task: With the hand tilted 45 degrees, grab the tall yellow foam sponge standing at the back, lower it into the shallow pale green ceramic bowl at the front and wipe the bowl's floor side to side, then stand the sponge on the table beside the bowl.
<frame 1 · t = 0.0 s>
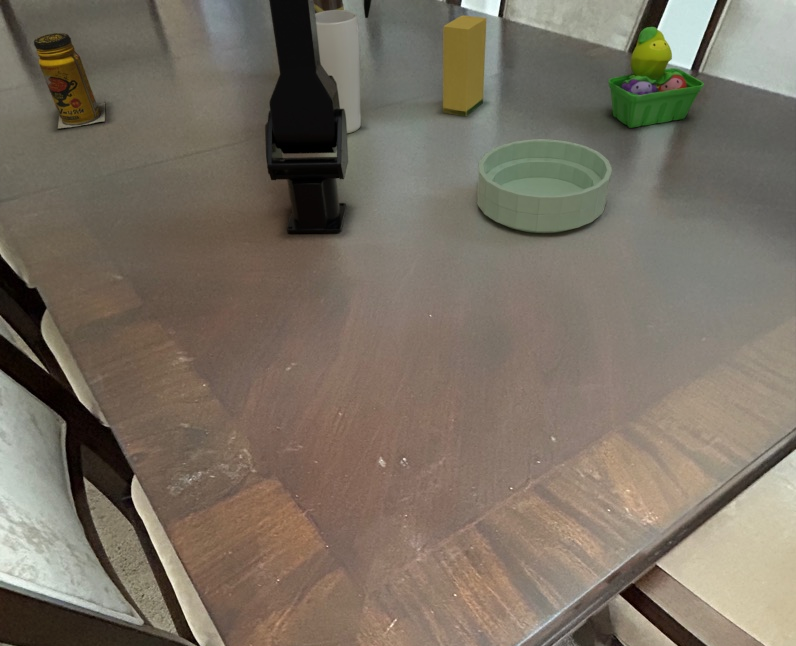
hand: (333, 18, 91), 15 cm above the table, tool pointing down, fingers open, 9 cm apart
condiment: (83, 118, 110), on the table
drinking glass: (344, 129, 101), on the table
sauce bottle: (332, 75, 119), on the table
bowl: (539, 205, 82), on the table
fruit basket: (645, 117, 99), on the table
sponge: (463, 107, 105), on the table
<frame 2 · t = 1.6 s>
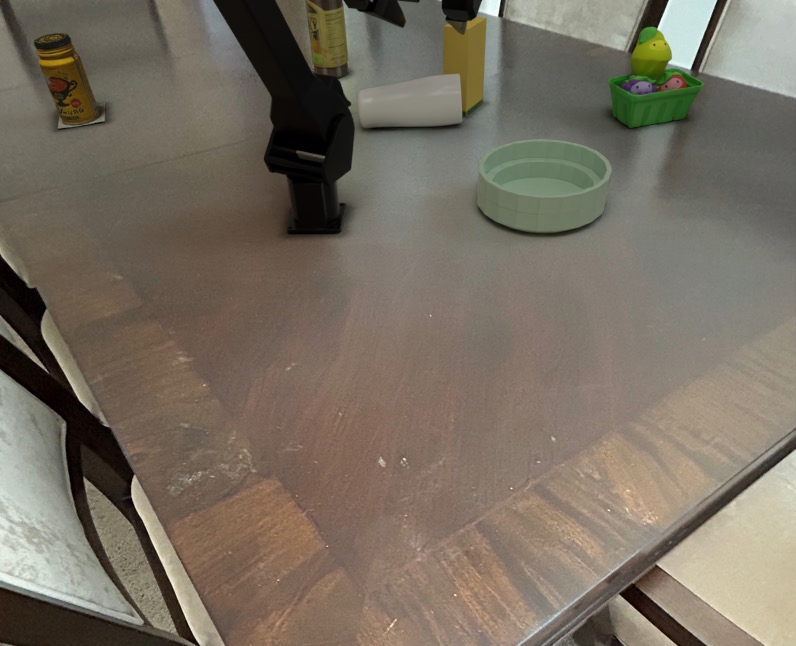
hand: (433, 27, 91), 13 cm above the table, tool tilted 45°, fingers open, 9 cm apart
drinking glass: (358, 109, 99), point 3 cm above the table, touching sponge
sponge: (463, 107, 105), on the table, touching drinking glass
everything else where it was.
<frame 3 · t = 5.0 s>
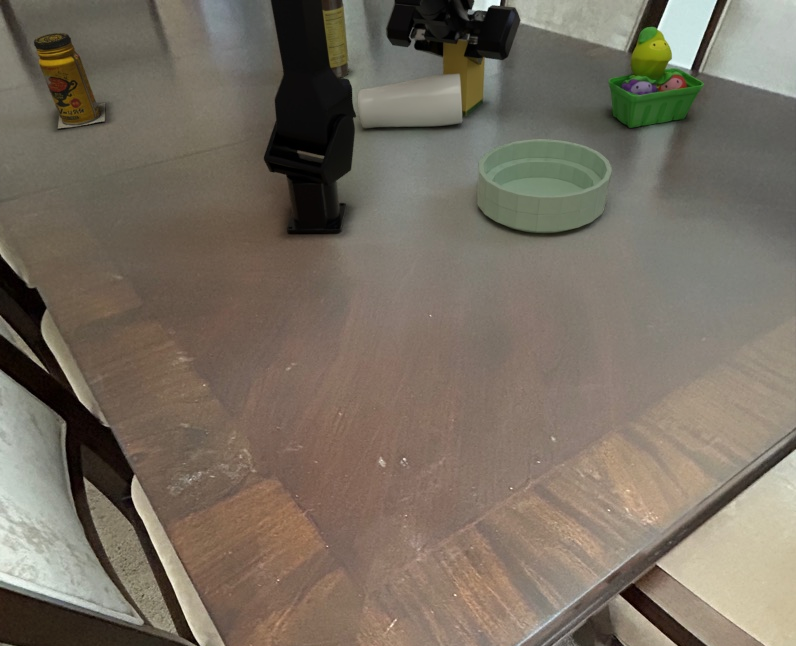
hand: (468, 59, 101), 7 cm above the table, tool tilted 45°, fingers closed on sponge, 4 cm apart
sponge: (463, 107, 105), on the table, touching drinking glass, gripper
everything else where it was.
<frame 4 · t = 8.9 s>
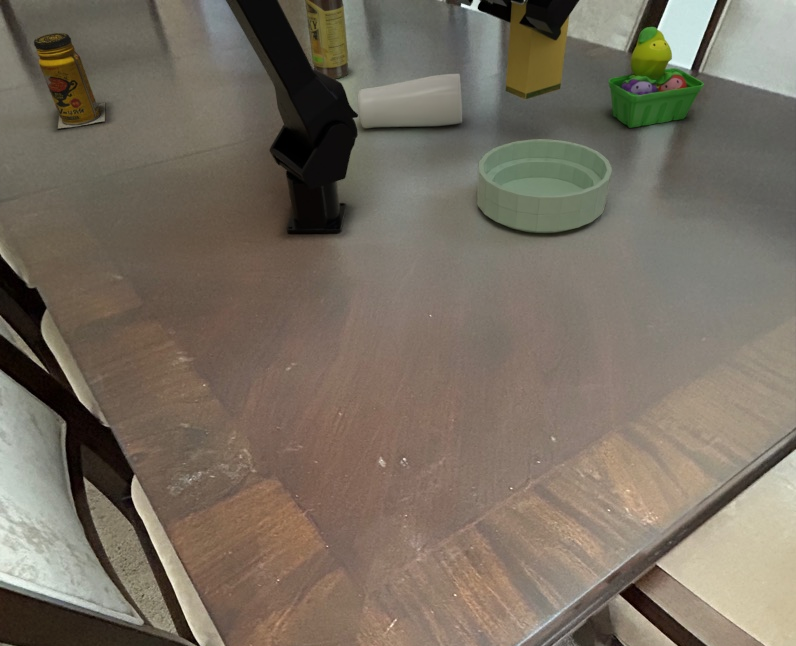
hand: (546, 32, 84), 14 cm above the table, tool tilted 45°, fingers closed on sponge, 4 cm apart
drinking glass: (358, 109, 99), point 3 cm above the table
sponge: (532, 90, 88), point 8 cm above the table, touching gripper
everything else where it was.
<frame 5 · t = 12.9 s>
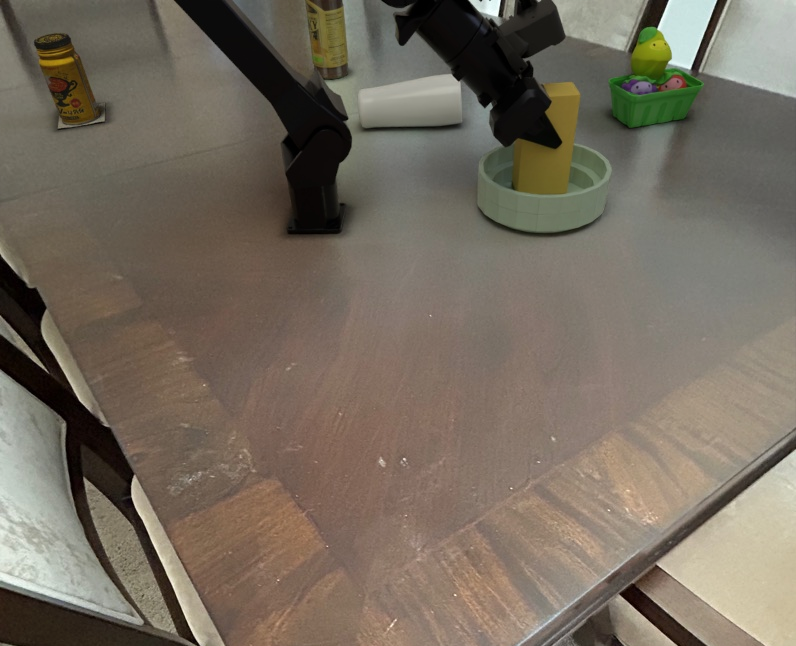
hand: (555, 138, 78), 7 cm above the table, tool tilted 45°, fingers closed on sponge, 4 cm apart
sponge: (538, 192, 82), point 1 cm above the table, touching gripper
everything else where it was.
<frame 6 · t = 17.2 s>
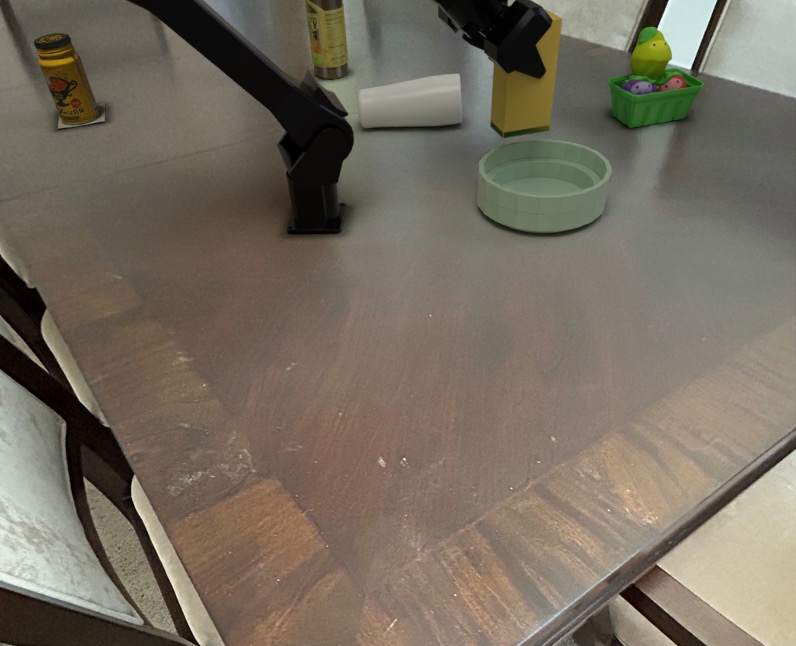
hand: (534, 69, 77), 14 cm above the table, tool tilted 45°, fingers closed on sponge, 4 cm apart
sponge: (519, 128, 81), point 7 cm above the table, touching gripper
everything else where it was.
when the fingers open (7 cm above the table, at t = 20.7 s): sponge stays where it is, on the table.
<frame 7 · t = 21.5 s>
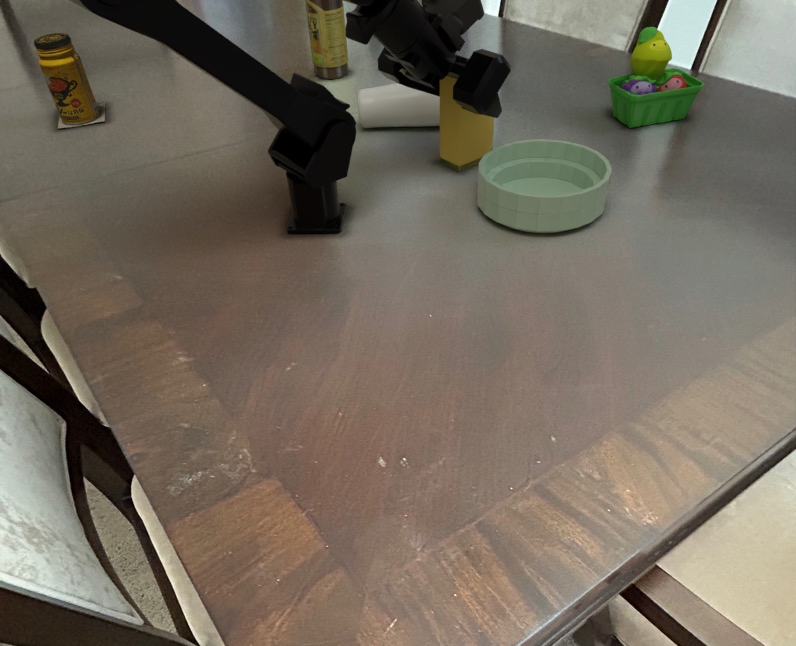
hand: (474, 104, 87), 7 cm above the table, tool tilted 45°, fingers open, 9 cm apart
sponge: (465, 160, 91), on the table
everything else where it was.
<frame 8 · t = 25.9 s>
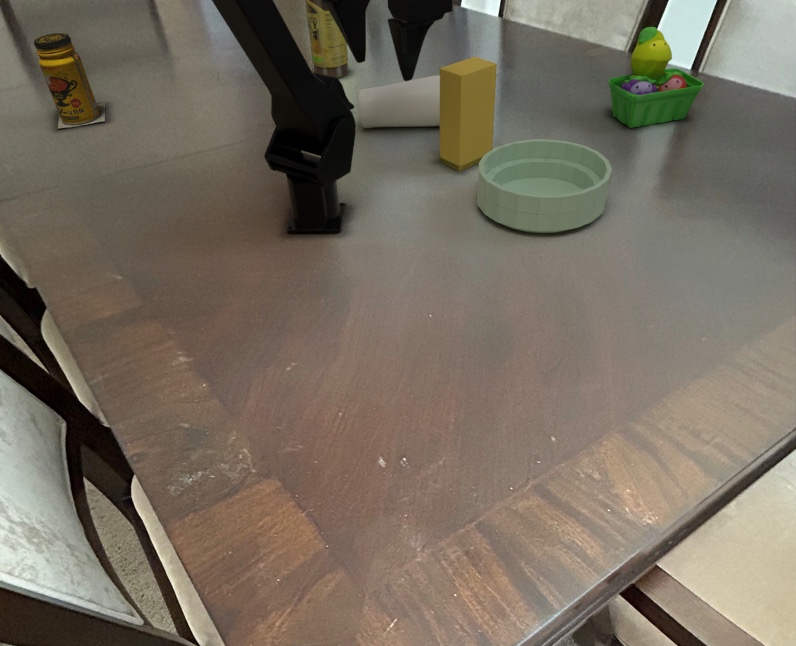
hand: (383, 70, 80), 13 cm above the table, tool pointing down, fingers open, 9 cm apart
nothing on the table moved.
at the end: sponge inside the target area on the table beside the bowl (0.3 cm from its centre), on the table; sponge tilted 0°; the gripper is holding nothing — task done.
